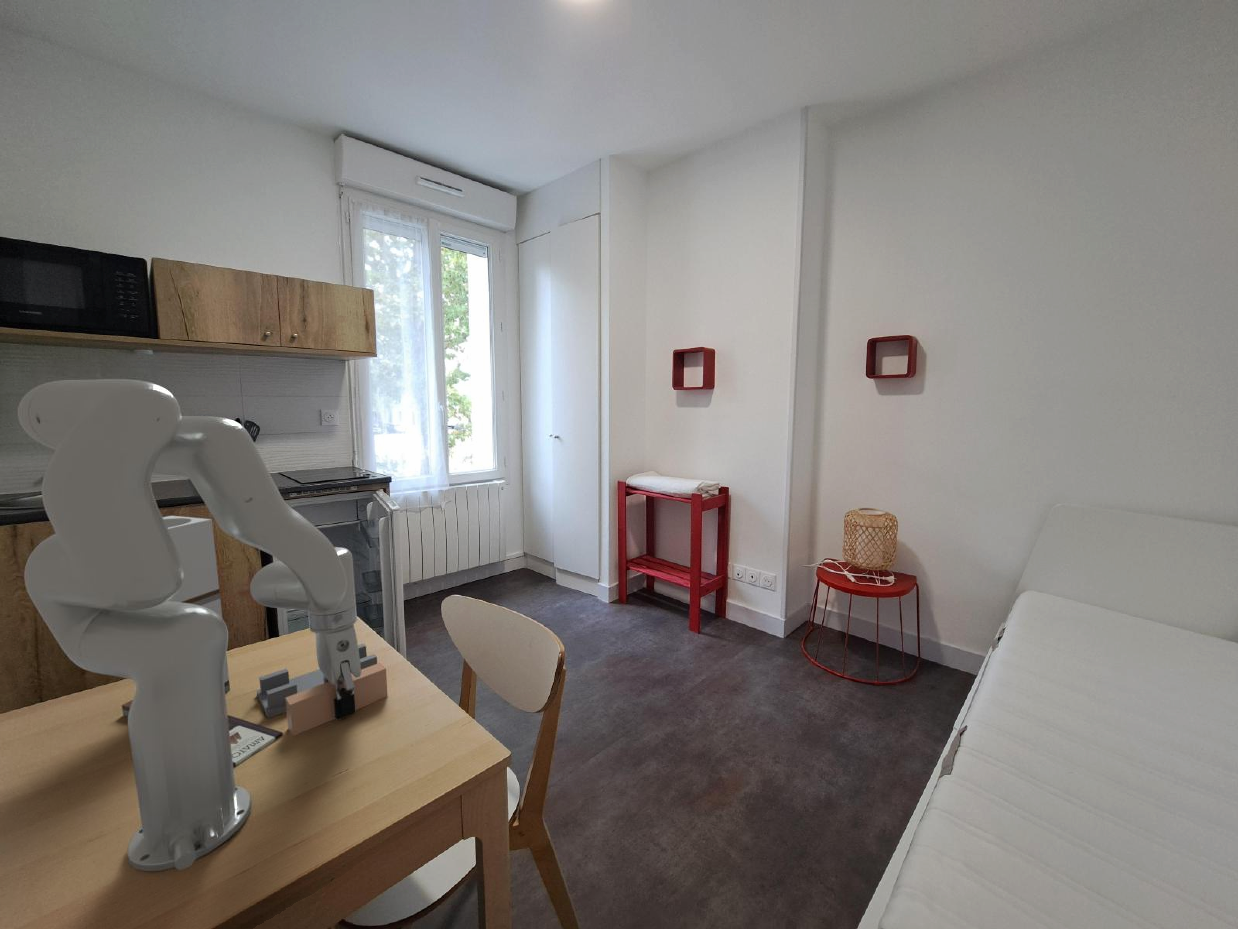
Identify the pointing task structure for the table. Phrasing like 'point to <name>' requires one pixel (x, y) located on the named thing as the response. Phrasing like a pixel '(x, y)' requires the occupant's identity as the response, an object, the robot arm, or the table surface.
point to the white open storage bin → (195, 569)
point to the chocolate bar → (248, 738)
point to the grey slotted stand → (295, 684)
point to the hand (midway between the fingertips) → (340, 707)
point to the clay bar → (319, 700)
